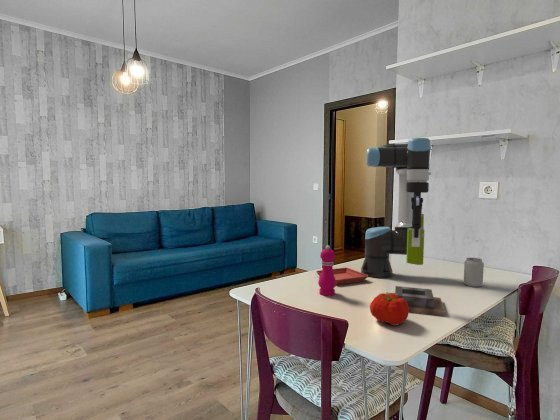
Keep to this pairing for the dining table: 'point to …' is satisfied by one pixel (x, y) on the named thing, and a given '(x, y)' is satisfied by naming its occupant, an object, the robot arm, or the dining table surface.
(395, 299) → the tomato
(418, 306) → the charging dock
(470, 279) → the can
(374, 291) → the dining table surface
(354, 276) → the plant saucer
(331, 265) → the pepper mill
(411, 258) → the vape
